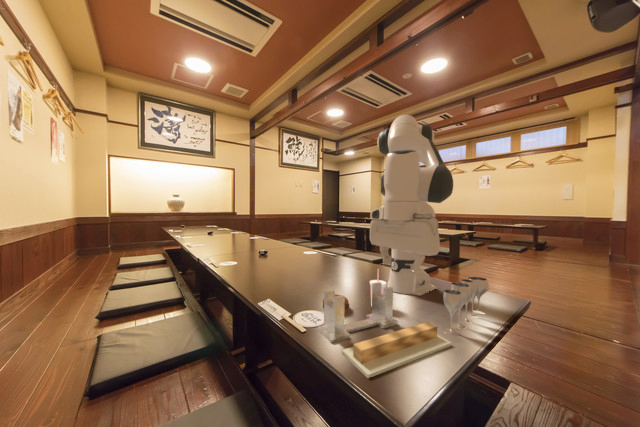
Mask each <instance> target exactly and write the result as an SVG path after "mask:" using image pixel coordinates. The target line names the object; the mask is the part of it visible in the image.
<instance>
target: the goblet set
mask: <svg viewBox="0 0 640 427" xmlns="http://www.w3.org/2000/svg"><path fill="white" fill-rule="evenodd" d="M489 289H490V285H489V281H488V279H487V278H485V277H481V276H480V277H479V276H471V277H469V276H468V277H467V279H464V278H463V279H461V280H460V282H458V281H457V282H455V281H453V282H451V283H450V289H444V291H443V295H442V299H443V303H444V304H443V305H444V306H445V308H446V310H448V313H449V317H450V328H449V327H446V328H443V329H442V331H443V333H445V334H446V333H448V334H447V335H449V334H451V335H450V336H452V335H453V336H454V337H455V336H456V335H458V336H460V335H459V333H460V332H459V331H458V330H459V329H463V328H465V326H466V325H465V324H463V323H461V321H460V319H461V313H462V308H463V306H464V305H465V319H462V320H463V321H467V322H470V321H469V320H470V319H469V320H468V317H467V314H468V305H469V302H470V300H471V310H472V312H471V313H470V314H471V316H475V315H476V314H474V313H473V309H474V305H475V304H474V303H475V300H476V299H475V298H477V310H478V311H479V310H480V301H481V300H480V299H481V297H482V296H483V295H484V294H486V293H488V291H489ZM456 312H458V313H457V314H458V319H457V320H458V322H454V321H453V320H454V315H455V313H456ZM473 314H474V315H473ZM462 324H463V325H462ZM464 325H465V326H464ZM456 337H457V336H456Z"/></svg>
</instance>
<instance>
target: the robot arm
mask: <svg viewBox="0 0 640 427" xmlns="http://www.w3.org/2000/svg"><path fill="white" fill-rule="evenodd" d="M376 141H377V142H376V143H377V148H378V151H379V153H381V154H382V155H386V159H385V162H384V163H385V164H384V173H383V174H382V175H381V176H380V194H381V195H382V196H384V197H383V204H382V206H380V207H378V208H376V209H374V210H371V211H370V213H369V218H370V219H371V221H370V224H369V241H370V244H371V245H372V246H377V247H379V252H380V255H381V256H382V263H383V264H386V265H390V270H389V275H388V281H387V285H386V287H393V293H394V292H395V293H398V294H403V295H404V294H405V295H414V296H423V295H426V294H428V293H430V292H429V291H431V292H433V291H435V290H434V289H436V290H437V286H435V285H433V284H431V276H430V274H429V273H427V272H426V271H425V270H424V269H423V268H422V267H421V265H423V264H424V263H425V259H426V256H427V257H430V256H431V257H432V256H437V255H438V254H439V252H440V251H441V242H440V241H441V240H440V233H439V220H438V219H437V218H436V213H435V210H434V209H435V208H434V207H433V206H432V205H431V204H429V203H433V204H434V203H435V204H441V203H443V202H444V201H446V200H448V198H450V196H452V194H453V190H454V178H453V175H452V171H451V170H450V169H449V168H448V167H447V166H446V165H445V162H444V160H443V158H442V157H441V154H440V153H439V151H438V149H437V146H436V145H435V143H434V142H435V132H434V130H433V127H432V126H431V125H430V124H426V123H425V124H423V123H421V124H419V123H418V121H417V120H416V118H415V117H414V116H413V115H410V114H402V115H398V116H397V117H396V118H395V119H393V121H392V123H391V125H390V128H386V129H383V130H381V131H380V132H379V134H378V137H377V140H376ZM420 163H422V164H423V165H425V167H424V166H423V167H421V166H420ZM389 249H390V250H391V256H390V254H389ZM432 290H433V291H432ZM427 292H428V293H427ZM425 293H426V294H425Z"/></svg>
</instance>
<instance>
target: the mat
mask: <svg viewBox="0 0 640 427" xmlns="http://www.w3.org/2000/svg"><path fill="white" fill-rule="evenodd" d="M452 345H453V342H451V341H449V340H447V339H445V338H444V337H442V336H440V335H438V334H437V337H436V338H433V339H431V340H428V341H425V342H422V343H419V344H416V345H414V346H411V347H408V348H405V349H402V350H399V351H396V352H394V353H391V354H388V355H385V356H382V357H379V358H377V359H374V360H371V361H368V362H365V363H362V364H361V363H360V362H359V361H357V360H356V359H355V358H354V357H353V346H351V347H348V348H344V349H342V350H341V354H342V355H343V356H344V357H345V358H346V359H347V360H348V361H349V362H350V363H351V364H352V365H353V366H354V367H355V368H356V369H357V370H358V371H359V372H360V373H361V374H362V375H363V376H364V377H366V378H367V379H371V378H372V377H375V376H378V375H381V374H383V373H386V372H387V371H390V370H393V369H396V368H398V367H400V366H403V365H406V364H409V363H411V362H414V361H416V360H418V359H421V358H425V357H427V356H428V355H431V354H434V353H436V352H439V351H442V350H445V349H446V348H449V347H452ZM370 377H371V378H370Z"/></svg>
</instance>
